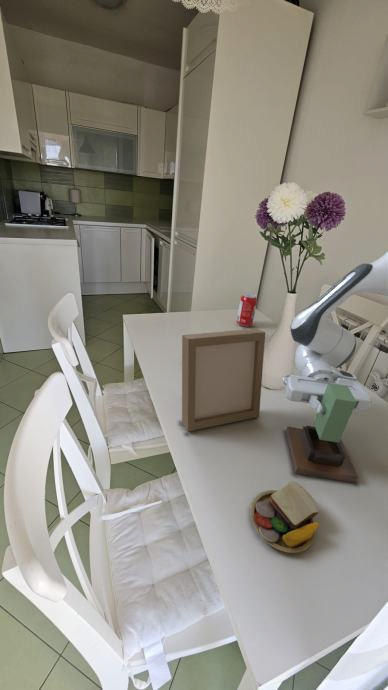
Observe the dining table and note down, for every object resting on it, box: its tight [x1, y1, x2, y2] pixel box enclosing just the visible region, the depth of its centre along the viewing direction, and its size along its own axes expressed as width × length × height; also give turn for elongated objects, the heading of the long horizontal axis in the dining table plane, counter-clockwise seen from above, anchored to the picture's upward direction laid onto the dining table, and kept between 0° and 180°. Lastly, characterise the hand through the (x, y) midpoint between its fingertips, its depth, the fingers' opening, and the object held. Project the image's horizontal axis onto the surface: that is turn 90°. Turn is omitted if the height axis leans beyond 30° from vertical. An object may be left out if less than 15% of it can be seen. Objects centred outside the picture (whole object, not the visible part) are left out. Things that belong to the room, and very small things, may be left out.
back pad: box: [313, 383, 357, 443], centre depth 71 cm, size 4×6×12 cm
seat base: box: [285, 425, 359, 484], centre depth 76 cm, size 14×14×5 cm
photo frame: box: [181, 328, 266, 432], centre depth 83 cm, size 15×22×25 cm
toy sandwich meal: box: [249, 480, 320, 554], centre depth 59 cm, size 12×14×5 cm
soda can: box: [236, 292, 258, 328], centre depth 145 cm, size 8×8×15 cm
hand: (335, 413), depth 70 cm, fingers closed on back pad, 4 cm apart
